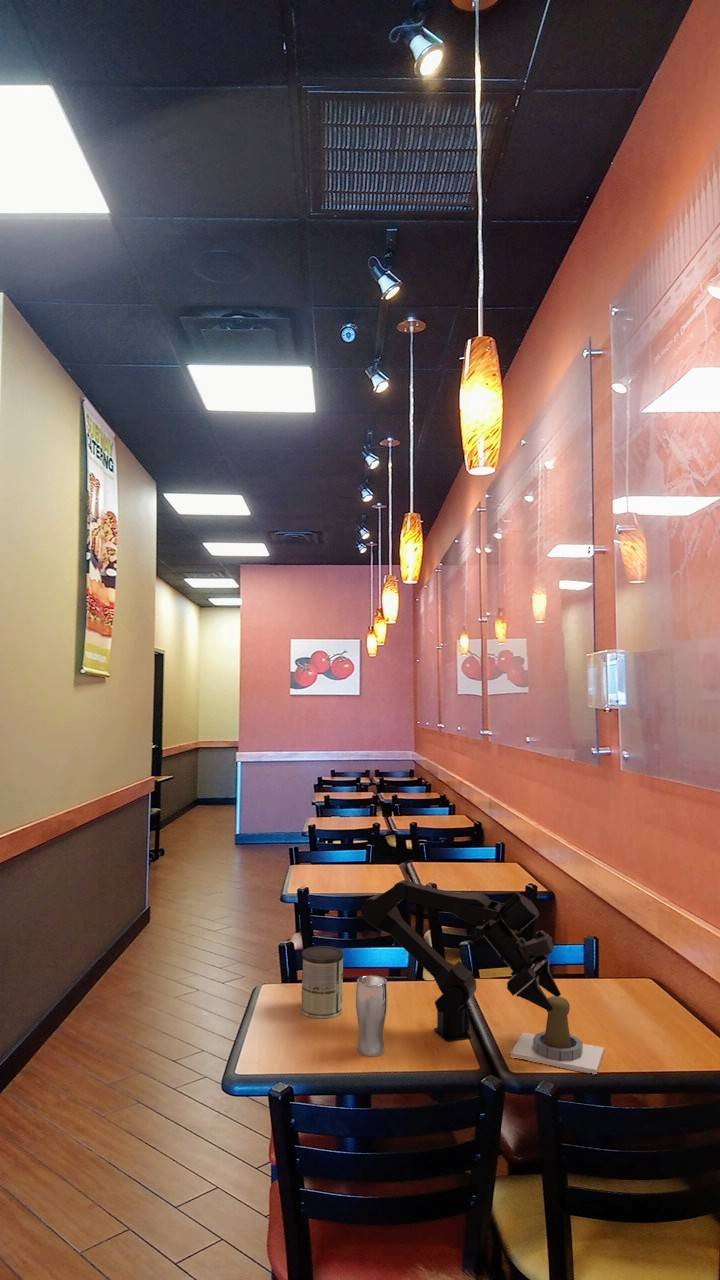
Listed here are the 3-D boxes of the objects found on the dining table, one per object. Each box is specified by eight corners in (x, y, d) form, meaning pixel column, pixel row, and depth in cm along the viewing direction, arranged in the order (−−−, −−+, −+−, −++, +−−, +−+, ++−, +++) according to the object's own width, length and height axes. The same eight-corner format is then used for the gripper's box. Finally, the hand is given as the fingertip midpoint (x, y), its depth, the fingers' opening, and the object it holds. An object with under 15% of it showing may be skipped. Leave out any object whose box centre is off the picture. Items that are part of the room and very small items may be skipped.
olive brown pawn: (555, 1057, 173) (555, 1004, 174) (537, 1046, 178) (537, 995, 179) (577, 1053, 175) (577, 1000, 176) (559, 1042, 181) (559, 991, 182)
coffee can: (296, 1005, 202) (297, 947, 203) (335, 1001, 206) (336, 944, 207) (306, 1021, 193) (308, 960, 194) (347, 1016, 196) (349, 956, 197)
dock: (510, 1057, 175) (510, 1043, 175) (522, 1037, 186) (522, 1023, 186) (596, 1074, 167) (596, 1059, 168) (604, 1052, 178) (604, 1038, 179)
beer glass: (355, 1043, 180) (356, 974, 182) (386, 1044, 180) (387, 975, 181) (354, 1057, 174) (355, 985, 175) (386, 1058, 173) (387, 986, 174)
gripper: (522, 932, 172) (575, 994, 167) (540, 911, 189) (588, 967, 184) (486, 964, 175) (536, 1026, 170) (506, 941, 192) (553, 997, 187)
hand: (555, 1002), depth 178 cm, fingers open, 9 cm apart
